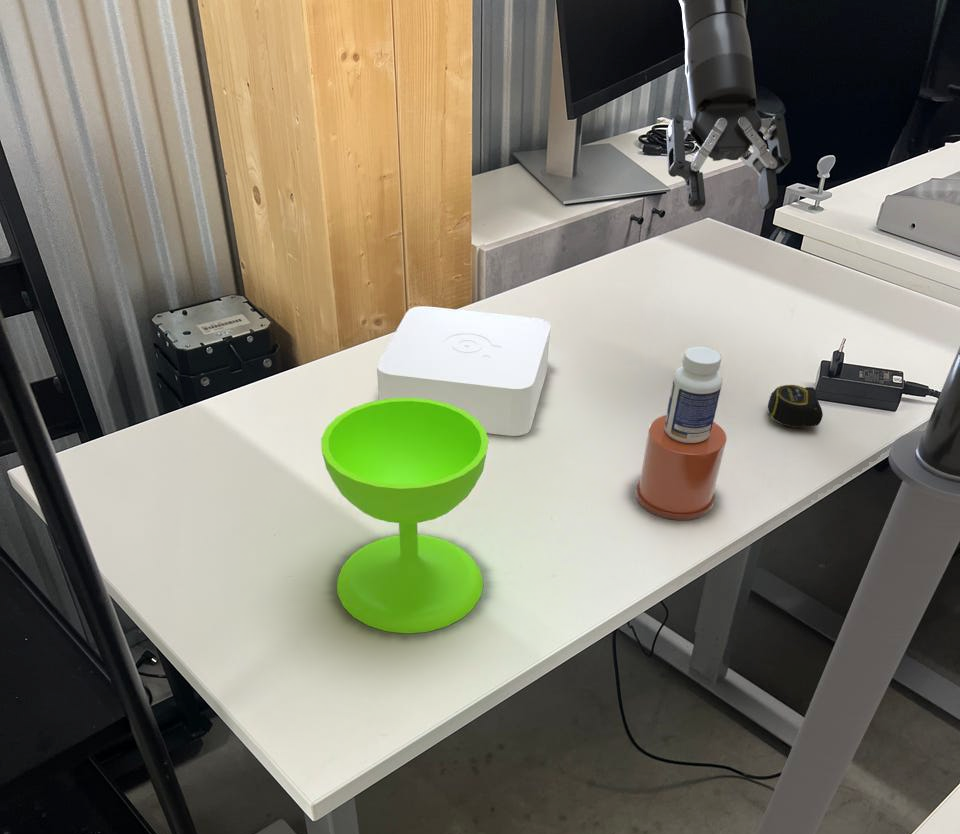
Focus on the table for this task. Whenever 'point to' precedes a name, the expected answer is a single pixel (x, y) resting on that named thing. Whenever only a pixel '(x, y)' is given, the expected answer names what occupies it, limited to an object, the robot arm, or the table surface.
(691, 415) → the pill bottle
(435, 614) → the wineglass
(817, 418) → the tape measure
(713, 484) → the tumbler
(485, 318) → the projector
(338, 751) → the table surface
